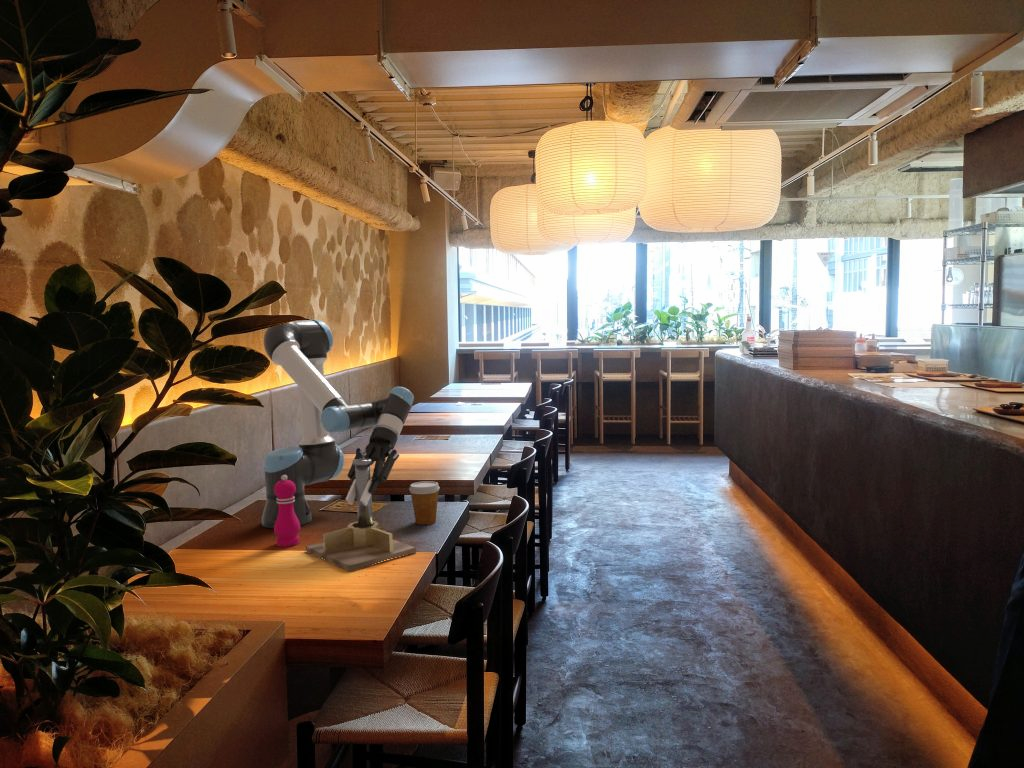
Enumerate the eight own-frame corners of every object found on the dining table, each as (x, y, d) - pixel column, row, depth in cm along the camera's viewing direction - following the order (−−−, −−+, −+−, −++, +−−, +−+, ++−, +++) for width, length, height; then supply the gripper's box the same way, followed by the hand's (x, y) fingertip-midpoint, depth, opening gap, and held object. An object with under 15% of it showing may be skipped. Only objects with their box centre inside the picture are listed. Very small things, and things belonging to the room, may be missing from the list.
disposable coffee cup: (413, 518, 228) (411, 481, 227) (443, 517, 228) (441, 480, 227) (407, 526, 219) (406, 488, 218) (438, 526, 219) (437, 487, 218)
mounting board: (305, 551, 197) (305, 546, 197) (368, 535, 210) (368, 530, 210) (350, 571, 179) (349, 565, 179) (415, 552, 193) (415, 547, 193)
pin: (352, 525, 198) (348, 460, 197) (368, 521, 202) (365, 457, 200) (362, 528, 194) (358, 462, 193) (378, 524, 198) (375, 459, 196)
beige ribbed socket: (317, 549, 194) (316, 531, 193) (368, 536, 205) (368, 519, 204) (351, 563, 181) (350, 544, 180) (404, 549, 191) (403, 531, 191)
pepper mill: (296, 547, 201) (292, 477, 200) (271, 547, 202) (267, 477, 200) (304, 539, 209) (300, 471, 207) (279, 540, 209) (276, 472, 207)
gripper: (416, 441, 207) (388, 511, 193) (367, 440, 214) (336, 507, 200) (406, 425, 202) (376, 496, 188) (355, 424, 209) (323, 493, 195)
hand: (356, 502), depth 194 cm, fingers closed on pin, 4 cm apart
